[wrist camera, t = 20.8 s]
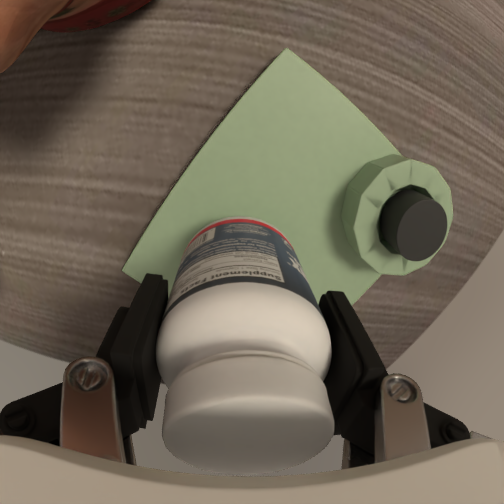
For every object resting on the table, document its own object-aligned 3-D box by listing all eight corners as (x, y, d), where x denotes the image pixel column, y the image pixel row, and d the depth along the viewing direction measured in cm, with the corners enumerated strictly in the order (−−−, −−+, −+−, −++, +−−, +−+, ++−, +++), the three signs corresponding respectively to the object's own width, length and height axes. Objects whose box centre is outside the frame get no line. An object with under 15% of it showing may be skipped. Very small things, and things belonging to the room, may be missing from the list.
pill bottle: (296, 309, 15) (343, 470, 7) (193, 319, 15) (173, 484, 7) (294, 207, 13) (385, 356, 5) (173, 219, 13) (95, 380, 5)
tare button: (437, 215, 13) (456, 227, 12) (401, 256, 14) (418, 273, 13) (406, 176, 12) (426, 185, 11) (368, 223, 13) (384, 237, 12)
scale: (437, 198, 16) (467, 214, 13) (289, 355, 20) (296, 387, 17) (287, 46, 12) (300, 30, 9) (127, 261, 16) (110, 288, 14)
